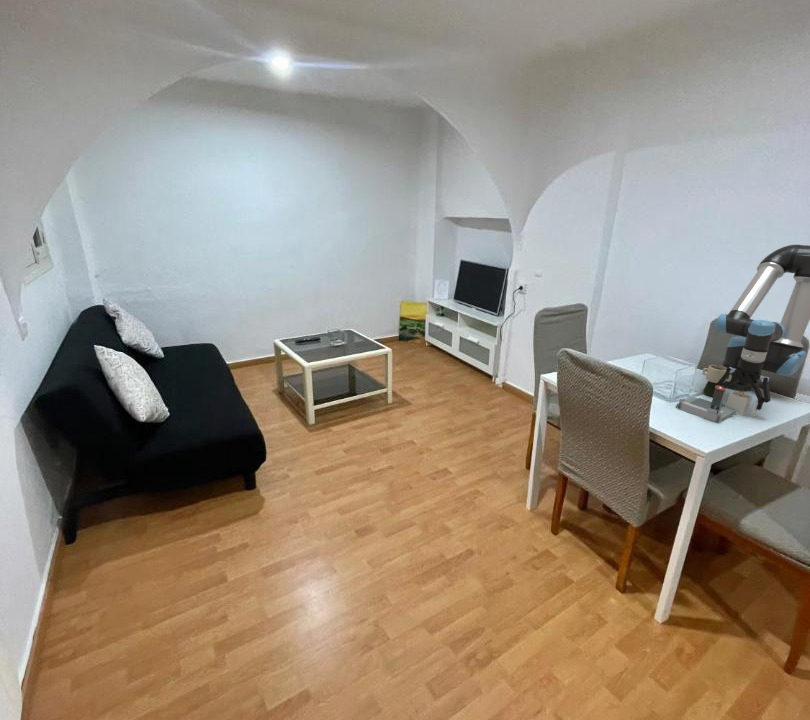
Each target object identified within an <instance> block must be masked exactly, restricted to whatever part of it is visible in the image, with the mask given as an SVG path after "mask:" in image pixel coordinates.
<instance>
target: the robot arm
mask: <svg viewBox="0 0 810 720" xmlns="http://www.w3.org/2000/svg"><path fill="white" fill-rule="evenodd" d="M756 271H757V272H756V273H755V275H754V276H753V277H752V279H751V280H750V282H749V283H748V284H747V286H746V288H745V289H744V291H743V292H742V294H740V296H739V298H738V299H737V301H736V302H735V304H734V305H733V306H732V308H731V309H730V311H729V313H725V314H724V313H721V314H720V315H718V316H717V318H716V320H715V324H714V328H715V330H716V331H718V332H721V333H723V334H726V335H727V334H729V335H734V336H732V337H731V338H730V339H729V341H728V343H727V345H726V351H725V354H724V357H723V361H722V365H721V366H724V367H726V368H727V370H726V373H725V374H724V375H723V377H722V378H721V379H720V380H719V381H718V383H717V384H716V385H720V386H724V387H725V388H726V389H725V391H724V394H723V397H722V400H721V404H720V405H722V406H724V401H725V398H726V395H727V389H729V390H730V389H731V390H735V391H744V392H745V391H751V390H752V391H753V392H754V394H755V397H756V399H757V400H755V403H754V405H753V409H752V412H751V415H750V417H752V418H754V417H756V416H757V414H758V411H760V410H762V409H763V404H764V403H769V402H771V401H772V400H771V391H770V386H769V385H770V379H771V377H770V376H763V375H762V371H764V372H765V371H766V372H768V373H773V374H776V375H782V376H785V377H790V376H792V375H794V374H796V373H797V372H798V370H799V369H800V368H801V367H802V365H803V363H804V361H805V359H806V356H807V352H806V351H805V350H804V347H805V346H804V345H803V343H802V339H803V337H804V335H805V333H806V329H807V327H808V326H809V322H810V245H804V244H789V245H786V246H782V247H780V248H777V249H776V250H774V251H772V252H771V253H769V254H768V255H767V256H765V257H764V258H763V259H762V260H761V261H760V263H759V264H758V265H757V267H756ZM786 273H789V274H794V275H793V277H792V278H793V279H794V281H795V285H794V286H793V288H792V289H793V290H792V291H791V292H792V293H791V295H790V297H789V299H788V303H787V305H786V308H785V310H784V313H783V315H782V318H781V320H780V322H778V321H771V320H770V321H769V320H764V319H751V318H752V317H753V314H754V313H756V310H757V309H758V307H759V306H760V305H761V303H762V302H763V300H764V299H765V297H766V296H767V295H768V293H769V291H770V290H771V289H772V288H773V286H774V285H775V283H776V281H777V280H778V279H780V278H782V277H783V276H784V275H785V274H786ZM729 375H732V378H731V381H729V382H728V381H725V380H726V379H728V378H729ZM759 379H760V381H761V383H762V391H761V389H760V385H759V382H758V380H759ZM724 381H725V382H724ZM723 382H724V383H723ZM716 385H715V386H716ZM762 392H763V393H762Z"/></svg>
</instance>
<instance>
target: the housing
mask: <svg viewBox="0 0 810 720" xmlns="http://www.w3.org/2000/svg"><path fill="white" fill-rule="evenodd" d="M753 397H754V396H752V395H749V394H746V393H745V391H742V390H739V391H738V390H735V391H734V392H733V391H732V392H731V393H729V394H728V398H727V400H726V404H725V407H726V408H729V409H732V410H735V411H736V412H735V415H739V416H743V415H745V414H747V413H749V411H750V406H751V403H752V401H753Z"/></svg>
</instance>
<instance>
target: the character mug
mask: <svg viewBox="0 0 810 720" xmlns="http://www.w3.org/2000/svg"><path fill="white" fill-rule="evenodd" d="M726 370H727V368H726V367H724V366H722V365H719V364H709V365H708V368H707V367H704V368H703V369H702V372H701V373H702V375H703V376H705V380H707V382H706V384H705V386H704V389H703V391H702V392H703V393H704V394H705V395H707V396H711V397H713V396H714V392H715V385H716V384H717V383H718V381H719V380H720V379H721V378H722V377H723V375H724V374H725V373H726ZM706 371H707V372H706ZM731 378H732V375H729V378H728V379H726V380H725V381H728V382H729V381H731ZM725 381H724V382H725ZM724 382H723V383H724Z"/></svg>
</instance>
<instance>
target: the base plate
mask: <svg viewBox="0 0 810 720" xmlns="http://www.w3.org/2000/svg"><path fill="white" fill-rule="evenodd" d="M711 403H712V401H709V400H708V399H704V398H700V397H696V396H691V397H689V398H685V397H681V398H679V402H678V403H676V405H675V408H677V409H678V410H680V411H684V412H686V413H690V414H692V415H694V416H697V417H700V418H703V419H704V420H708V421H711V422H714V423H716V424H719V423H721V422H723V421H725V420H727V419H729V418H731V417H732V416H734V415H736V413H735V412H736V411H735V410H732V409H729V408H726V406H724V405H720V407H719V408H721V411H720V412H719V413H718V414H717V415H716V414H713V413H710V412H707V410H708V407H710V406H711Z"/></svg>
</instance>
